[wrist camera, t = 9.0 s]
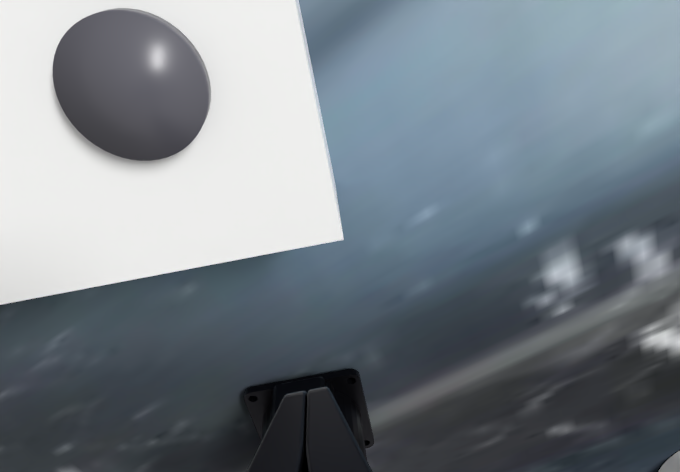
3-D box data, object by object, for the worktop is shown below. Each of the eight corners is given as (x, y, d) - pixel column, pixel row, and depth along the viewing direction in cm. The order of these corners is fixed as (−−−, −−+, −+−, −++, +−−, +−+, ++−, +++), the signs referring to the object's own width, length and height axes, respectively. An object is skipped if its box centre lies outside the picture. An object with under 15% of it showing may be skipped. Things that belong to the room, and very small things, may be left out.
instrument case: (334, 179, 21) (345, 249, 16) (31, 238, 21) (-46, 322, 17) (283, -78, 16) (276, -87, 11) (-110, 3, 17) (-276, 28, 12)
